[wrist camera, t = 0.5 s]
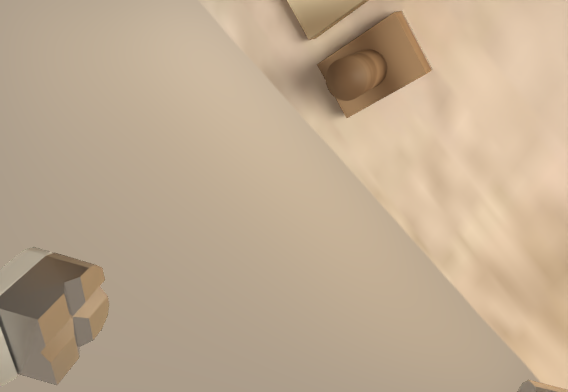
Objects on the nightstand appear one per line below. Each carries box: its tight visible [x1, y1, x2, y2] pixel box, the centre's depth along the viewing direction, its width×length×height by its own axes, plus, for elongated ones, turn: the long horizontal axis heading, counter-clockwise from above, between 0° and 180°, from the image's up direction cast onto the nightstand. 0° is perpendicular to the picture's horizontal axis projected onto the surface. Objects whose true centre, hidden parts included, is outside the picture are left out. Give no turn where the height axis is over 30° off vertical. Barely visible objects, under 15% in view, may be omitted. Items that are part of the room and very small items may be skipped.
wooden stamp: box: [317, 11, 433, 118], centre depth 38 cm, size 8×6×8 cm
